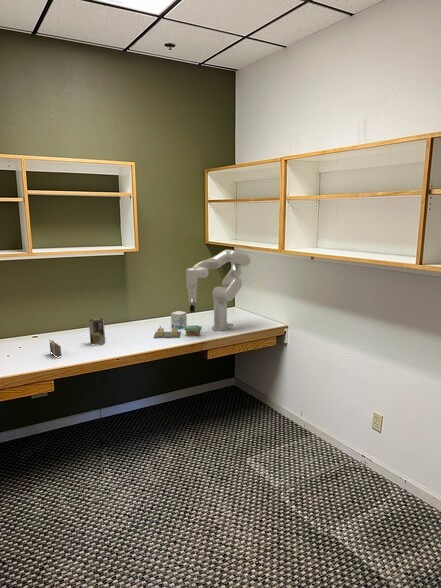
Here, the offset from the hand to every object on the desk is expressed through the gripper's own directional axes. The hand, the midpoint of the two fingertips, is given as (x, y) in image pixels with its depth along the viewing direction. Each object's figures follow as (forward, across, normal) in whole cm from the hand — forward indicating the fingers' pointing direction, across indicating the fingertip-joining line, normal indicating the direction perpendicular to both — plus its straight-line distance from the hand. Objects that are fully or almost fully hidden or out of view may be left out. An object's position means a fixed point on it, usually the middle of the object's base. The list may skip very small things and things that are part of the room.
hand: (192, 310), depth 296 cm
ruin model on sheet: (+19, -39, +83) cm, 93 cm away
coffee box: (+18, -16, +63) cm, 67 cm away
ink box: (+18, +20, +11) cm, 29 cm away
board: (+14, 0, 0) cm, 14 cm away
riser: (+18, 0, 0) cm, 18 cm away
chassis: (+18, 0, +18) cm, 26 cm away
